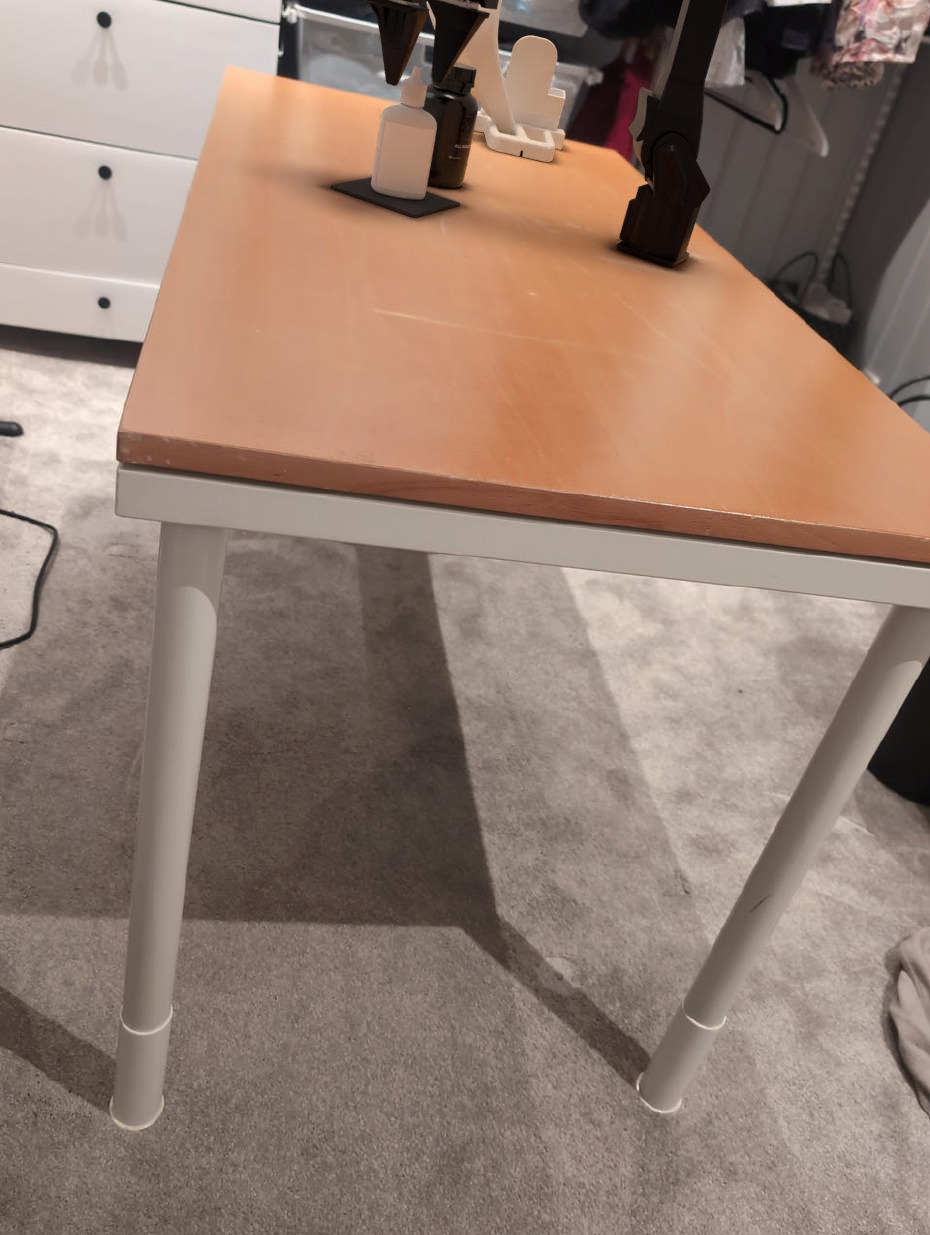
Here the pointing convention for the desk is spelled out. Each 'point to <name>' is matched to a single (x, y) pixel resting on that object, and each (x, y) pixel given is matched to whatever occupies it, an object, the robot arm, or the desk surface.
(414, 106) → the eye dropper bottle
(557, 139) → the jewelry stand
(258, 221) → the desk surface
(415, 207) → the coaster
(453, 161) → the supplement bottle
